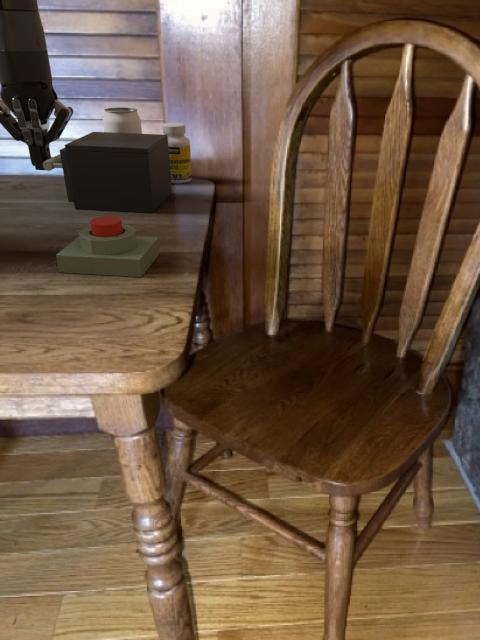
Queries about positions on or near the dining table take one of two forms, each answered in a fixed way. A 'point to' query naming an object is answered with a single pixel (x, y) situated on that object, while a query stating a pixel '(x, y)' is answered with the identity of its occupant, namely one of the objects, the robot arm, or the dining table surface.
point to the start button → (106, 226)
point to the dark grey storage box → (119, 171)
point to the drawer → (61, 162)
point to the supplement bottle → (178, 152)
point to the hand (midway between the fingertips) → (42, 169)
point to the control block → (109, 254)
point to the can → (122, 120)
